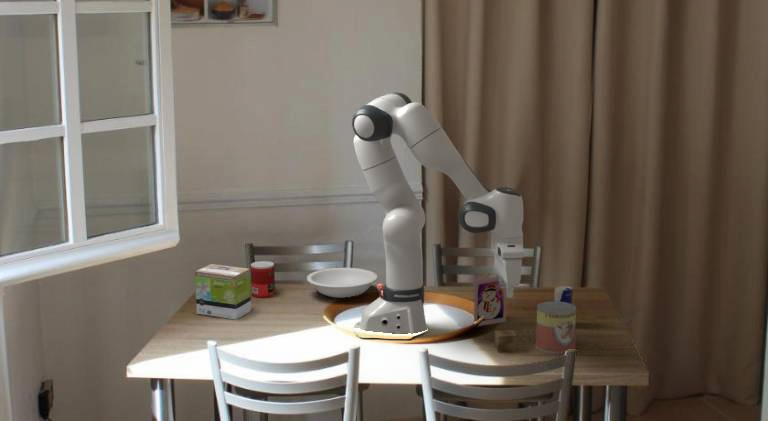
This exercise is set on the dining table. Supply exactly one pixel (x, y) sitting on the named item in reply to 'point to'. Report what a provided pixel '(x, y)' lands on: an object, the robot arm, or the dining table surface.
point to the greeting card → (489, 300)
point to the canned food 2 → (555, 326)
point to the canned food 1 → (262, 279)
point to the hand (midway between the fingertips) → (506, 292)
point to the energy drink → (563, 294)
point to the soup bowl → (342, 281)
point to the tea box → (223, 291)
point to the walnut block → (505, 341)
